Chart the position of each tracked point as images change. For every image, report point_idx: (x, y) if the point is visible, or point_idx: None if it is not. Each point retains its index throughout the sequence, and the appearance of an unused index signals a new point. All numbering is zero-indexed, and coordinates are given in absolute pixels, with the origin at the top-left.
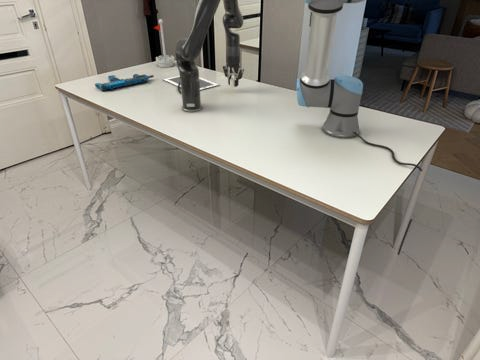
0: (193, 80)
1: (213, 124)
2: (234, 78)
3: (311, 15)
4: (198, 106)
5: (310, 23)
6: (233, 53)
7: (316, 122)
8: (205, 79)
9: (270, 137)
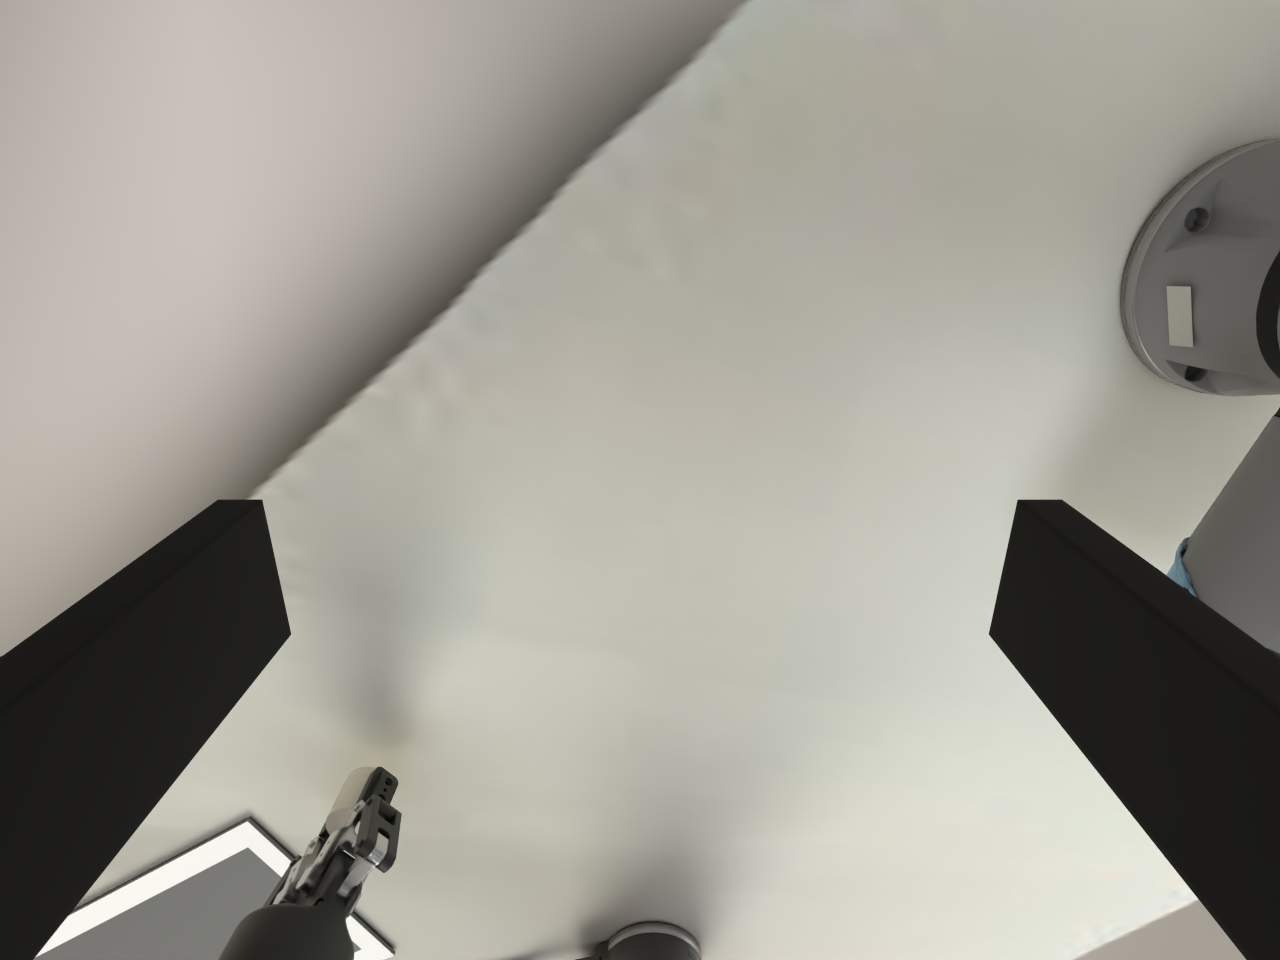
0: None
1: (881, 888)
2: (335, 818)
3: (96, 851)
4: (688, 955)
5: (252, 672)
6: None
7: (1053, 384)
8: (133, 883)
9: None
